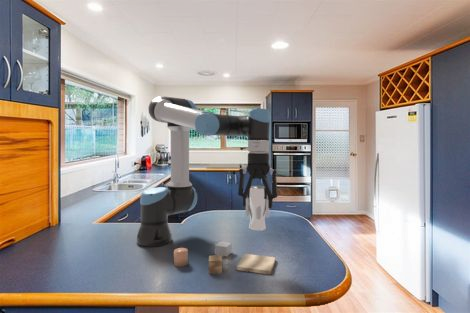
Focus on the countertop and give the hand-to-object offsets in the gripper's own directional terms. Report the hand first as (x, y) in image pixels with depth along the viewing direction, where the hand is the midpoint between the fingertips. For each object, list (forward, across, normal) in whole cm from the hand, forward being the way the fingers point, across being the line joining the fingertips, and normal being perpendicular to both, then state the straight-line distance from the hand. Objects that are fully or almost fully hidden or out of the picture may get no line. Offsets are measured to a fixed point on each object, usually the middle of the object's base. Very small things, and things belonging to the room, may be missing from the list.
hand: (257, 215), depth 104 cm
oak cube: (+18, -13, -8) cm, 24 cm away
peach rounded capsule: (+18, -27, -7) cm, 33 cm away
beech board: (+18, 0, 0) cm, 18 cm away
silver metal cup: (+5, 0, 0) cm, 5 cm away
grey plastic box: (+18, -15, +6) cm, 25 cm away
